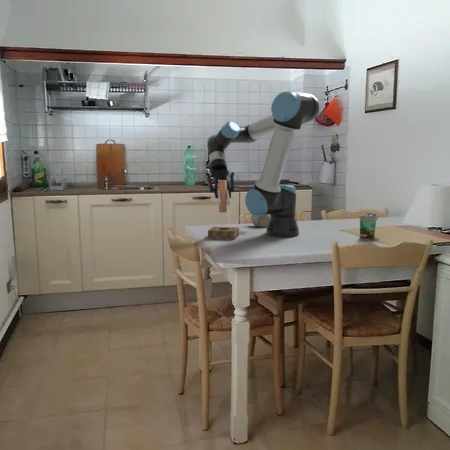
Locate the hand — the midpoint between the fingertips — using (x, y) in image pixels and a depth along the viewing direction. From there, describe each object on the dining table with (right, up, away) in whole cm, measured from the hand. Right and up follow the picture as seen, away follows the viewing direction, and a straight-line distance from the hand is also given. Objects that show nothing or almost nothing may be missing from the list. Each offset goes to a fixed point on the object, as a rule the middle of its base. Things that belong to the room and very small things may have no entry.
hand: (224, 203), depth 207 cm
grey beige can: (+20, -10, +35) cm, 41 cm away
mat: (+5, -13, +16) cm, 22 cm away
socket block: (0, -15, +6) cm, 16 cm away
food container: (+66, -15, +6) cm, 68 cm away
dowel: (-1, -4, +5) cm, 6 cm away
